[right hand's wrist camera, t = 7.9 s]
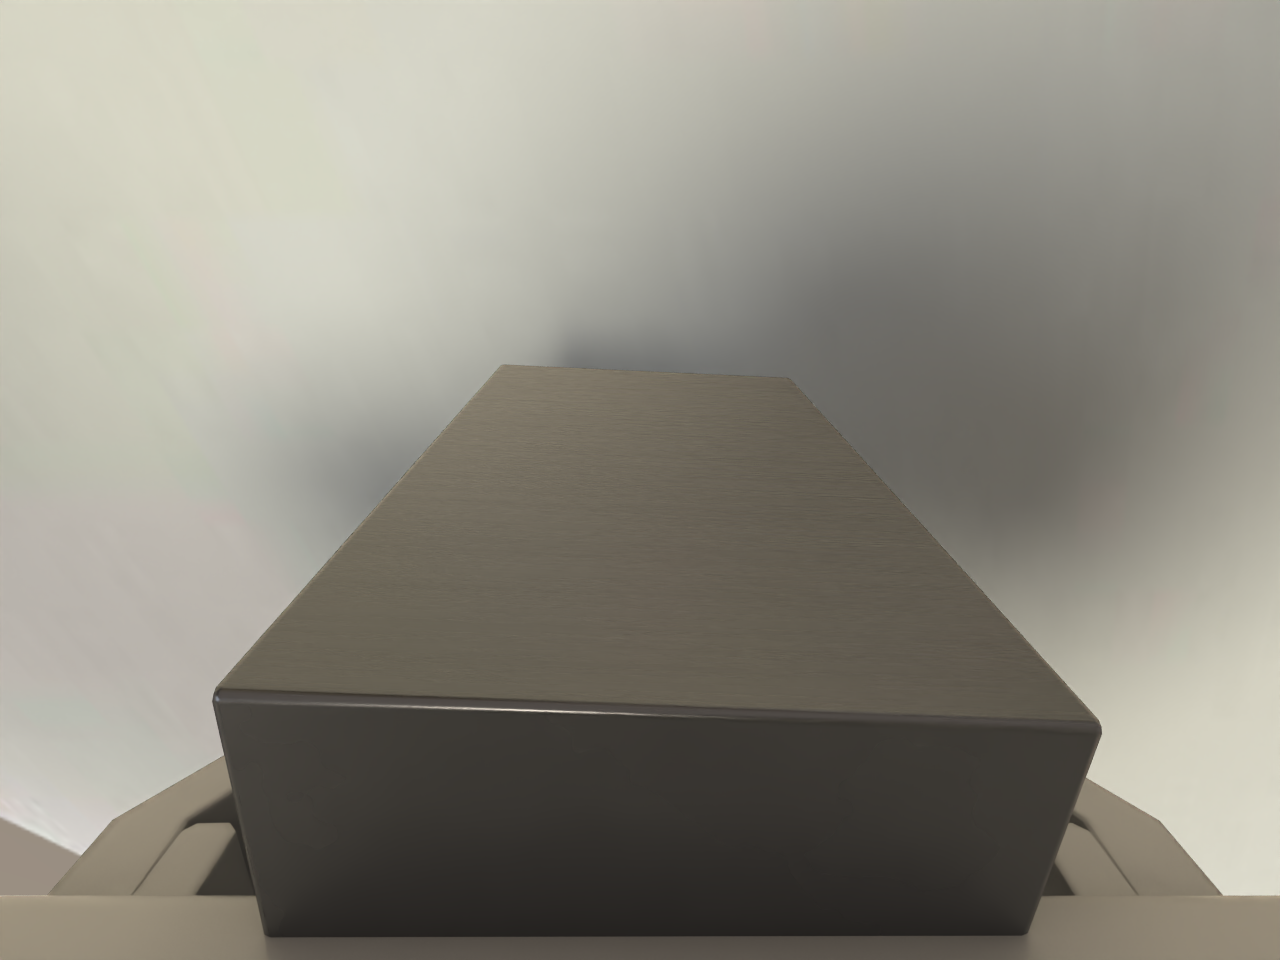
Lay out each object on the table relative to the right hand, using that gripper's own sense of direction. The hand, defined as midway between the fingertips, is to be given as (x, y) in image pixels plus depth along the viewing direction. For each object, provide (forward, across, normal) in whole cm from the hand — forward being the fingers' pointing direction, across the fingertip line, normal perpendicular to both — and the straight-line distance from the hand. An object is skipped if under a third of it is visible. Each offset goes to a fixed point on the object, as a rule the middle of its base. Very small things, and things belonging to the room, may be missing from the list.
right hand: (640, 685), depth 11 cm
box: (+5, 0, -7) cm, 8 cm away
